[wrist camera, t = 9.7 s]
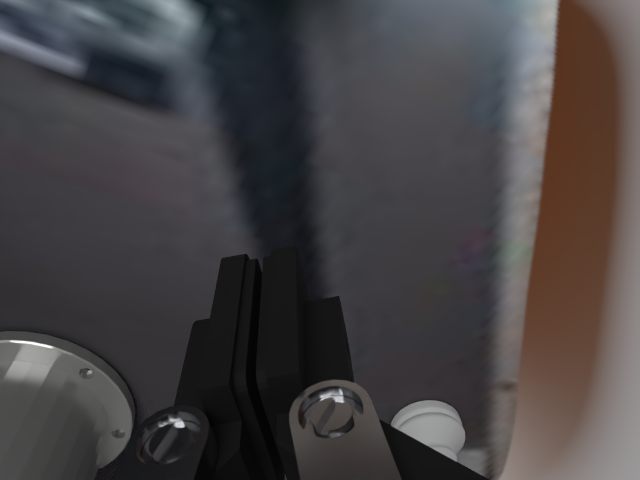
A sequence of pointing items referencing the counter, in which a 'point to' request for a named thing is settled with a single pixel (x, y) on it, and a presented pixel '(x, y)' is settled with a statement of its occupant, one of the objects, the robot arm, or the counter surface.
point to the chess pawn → (432, 426)
